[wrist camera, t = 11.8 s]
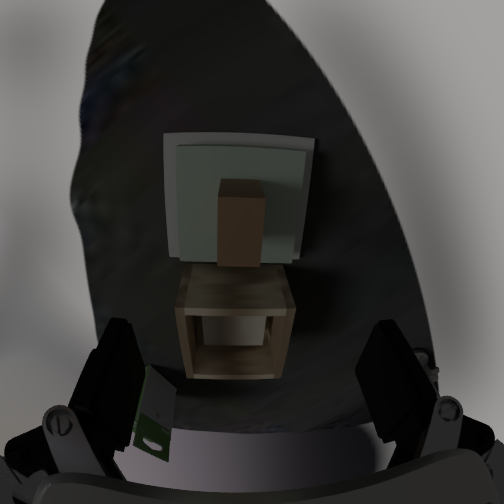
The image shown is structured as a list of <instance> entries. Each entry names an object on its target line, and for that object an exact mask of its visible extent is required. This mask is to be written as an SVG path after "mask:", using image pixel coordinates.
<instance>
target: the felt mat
mask: <svg viewBox="0 0 504 504" xmlns="http://www.w3.org/2000/svg"><path fill="white" fill-rule="evenodd" d="M314 142H315V139H314V138H306V137H296V136H286V135H273V134H258V133H236V132H180V133H164V184H165V204H166V220H167V233H168V245H169V256H170V257H180V254H179V240H178V222H177V197H176V146H177V145H184V144H218V145H248V146H266V147H279V148H291V149H301V150H304V151H306V158H305V167H304V176H303V184H302V192H301V200H300V208H299V215H298V223H297V230H296V237H295V244H294V251H293V257H292V259H299V256H300V250H301V244H302V237H303V230H304V223H305V216H306V209H307V201H308V194H309V186H310V178H311V169H312V160H313V151H314Z"/></svg>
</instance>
